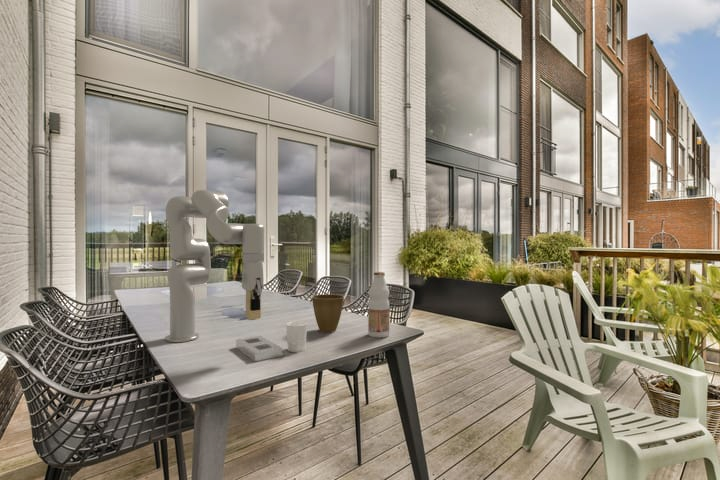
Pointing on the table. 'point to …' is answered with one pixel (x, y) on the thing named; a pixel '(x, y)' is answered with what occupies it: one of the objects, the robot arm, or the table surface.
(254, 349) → the rail
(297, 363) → the table surface
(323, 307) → the plant pot
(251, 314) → the brass square peg
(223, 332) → the table surface
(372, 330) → the fruit juice
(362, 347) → the table surface
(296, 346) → the white cup
